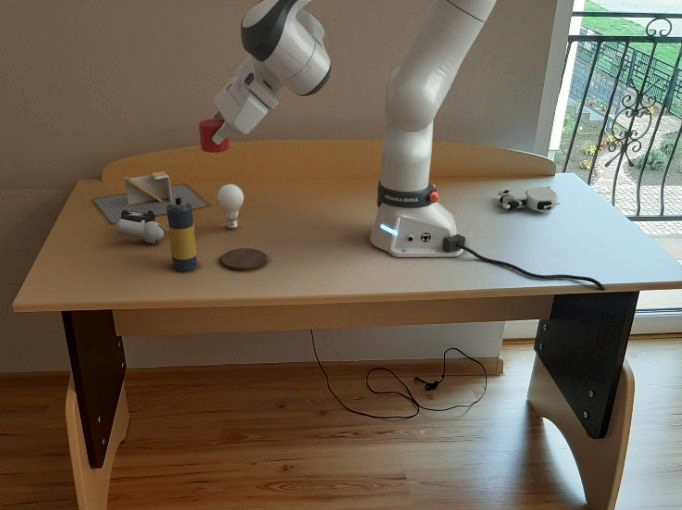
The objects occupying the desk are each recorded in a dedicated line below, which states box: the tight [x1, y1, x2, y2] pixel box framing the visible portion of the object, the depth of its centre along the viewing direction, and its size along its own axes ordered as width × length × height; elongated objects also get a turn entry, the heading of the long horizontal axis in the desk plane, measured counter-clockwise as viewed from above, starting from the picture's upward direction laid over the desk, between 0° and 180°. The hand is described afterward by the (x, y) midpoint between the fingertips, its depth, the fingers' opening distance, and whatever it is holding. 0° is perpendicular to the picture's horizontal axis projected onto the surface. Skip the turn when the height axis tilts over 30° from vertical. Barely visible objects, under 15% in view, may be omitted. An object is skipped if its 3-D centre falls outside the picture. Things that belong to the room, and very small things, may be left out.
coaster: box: [221, 247, 268, 272], centre depth 154 cm, size 10×10×1 cm
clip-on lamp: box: [115, 210, 169, 245], centre depth 162 cm, size 12×6×18 cm
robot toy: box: [497, 185, 561, 213], centre depth 184 cm, size 12×4×15 cm
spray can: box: [166, 197, 198, 273], centre depth 147 cm, size 5×5×16 cm
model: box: [124, 170, 173, 205], centre depth 179 cm, size 3×11×8 cm, turn 121°
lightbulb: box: [216, 183, 245, 230], centre depth 166 cm, size 6×6×11 cm
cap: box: [198, 118, 230, 154], centre depth 138 cm, size 6×6×5 cm
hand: (211, 136), depth 138 cm, fingers closed on cap, 5 cm apart
